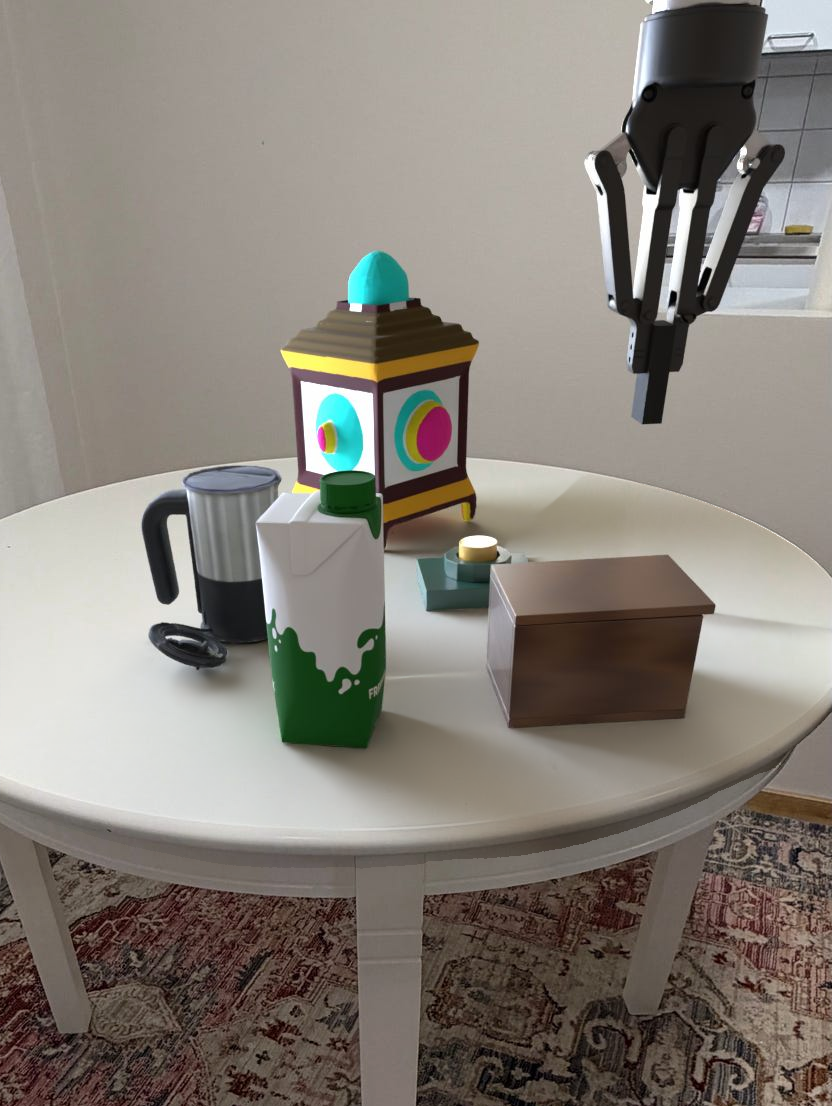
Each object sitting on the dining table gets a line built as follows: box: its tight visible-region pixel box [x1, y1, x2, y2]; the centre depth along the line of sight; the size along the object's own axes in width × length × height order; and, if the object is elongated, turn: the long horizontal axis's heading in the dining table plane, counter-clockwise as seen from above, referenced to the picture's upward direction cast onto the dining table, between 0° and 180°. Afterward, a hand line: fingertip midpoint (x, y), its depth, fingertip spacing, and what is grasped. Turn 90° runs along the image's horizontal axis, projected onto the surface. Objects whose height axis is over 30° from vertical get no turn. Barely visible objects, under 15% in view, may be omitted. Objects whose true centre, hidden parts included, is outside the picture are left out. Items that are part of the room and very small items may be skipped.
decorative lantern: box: [280, 250, 480, 551], centre depth 115 cm, size 20×20×30 cm
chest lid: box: [490, 554, 717, 625], centre depth 77 cm, size 15×12×1 cm
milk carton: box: [256, 470, 387, 749], centre depth 74 cm, size 9×9×20 cm
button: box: [458, 535, 499, 562], centre depth 100 cm, size 4×4×2 cm
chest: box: [485, 574, 704, 729], centre depth 80 cm, size 15×12×9 cm
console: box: [416, 545, 530, 612], centre depth 102 cm, size 12×10×4 cm
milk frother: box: [140, 464, 283, 671], centre depth 90 cm, size 14×16×15 cm
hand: (646, 419), depth 72 cm, fingers closed
